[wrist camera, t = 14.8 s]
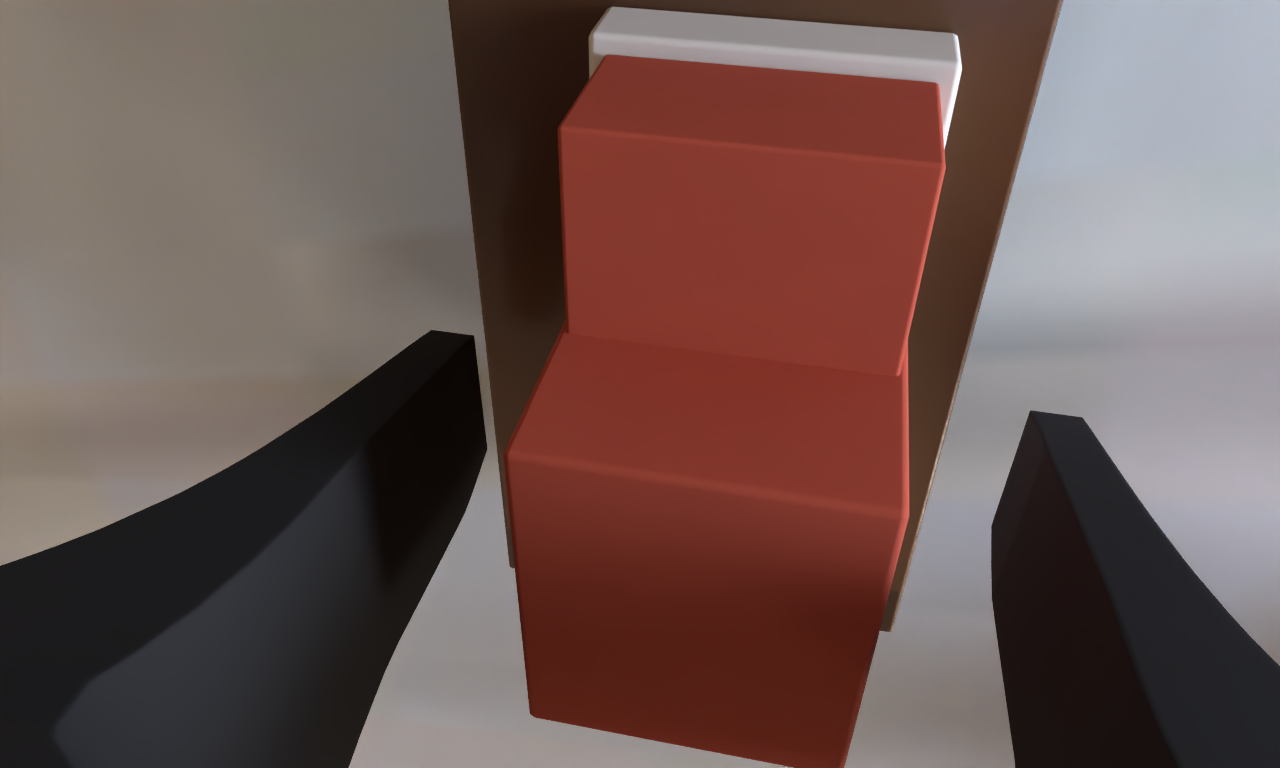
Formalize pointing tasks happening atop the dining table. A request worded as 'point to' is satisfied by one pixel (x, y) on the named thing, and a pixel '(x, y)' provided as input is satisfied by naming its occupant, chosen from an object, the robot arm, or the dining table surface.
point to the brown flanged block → (574, 3)
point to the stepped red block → (728, 379)
